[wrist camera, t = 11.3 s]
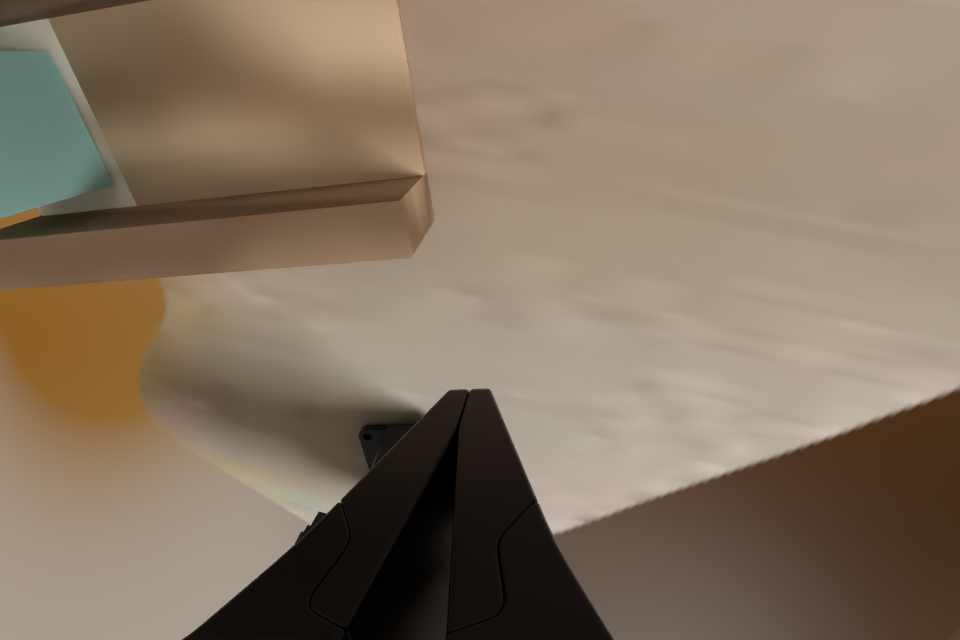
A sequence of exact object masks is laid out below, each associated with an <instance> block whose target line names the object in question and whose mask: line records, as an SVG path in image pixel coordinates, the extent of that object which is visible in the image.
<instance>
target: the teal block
mask: <svg viewBox="0 0 960 640" xmlns="http://www.w3.org/2000/svg"><path fill="white" fill-rule="evenodd" d="M111 185H114V183H113V181H112V179H111V177H110V175H109V173H108V171H107V169H106V167H105V165H104V163H103V161H102V159H101V157H100V155H99V153H98V151H97V149H96V147H95V145H94V143H93V141H92V138H91V136H90V134H89V132H88V130H87V128H86V126H85V124H84V122H83V120H82V118H81V116H80V114H79V112H78V110H77V108H76V106H75V104H74V102H73V100H72V98H71V96H70V94H69V92H68V89H67V87H66V85H65V83H64V81H63V79H62V77H61V75H60V73H59V71H58V69H57V67H56V65H55V63H54V61H53V59H52V57H51V55H50V53H49V51H0V219H1V218H5V217H8V216H11V215H15V214H18V213H21V212H24V211H28V210H31V209H34V208H38V207H41V206H45V205H48V204H51V203H55V202H58V201H61V200H65V199H68V198H71V197H75V196H78V195H81V194H85V193H88V192H91V191H95V190H98V189H101V188H105V187H108V186H111Z"/></svg>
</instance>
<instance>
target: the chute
mask: <svg viewBox="0 0 960 640" xmlns="http://www.w3.org/2000/svg"><path fill="white" fill-rule="evenodd" d="M0 51H49V53H50V55H51V57H52V59H53V61H54V63H55V65H56V67H57V69H58V71H59V73H60V75H61V77H62V79H63V81H64V83H65V85H66V87H67V89H68V92H69V94H70V96H71V98H72V100H73V102H74V104H75V106H76V108H77V110H78V112H79V114H80V116H81V118H82V120H83V122H84V124H85V126H86V128H87V130H88V132H89V134H90V136H91V138H92V141H93V143H94V145H95V147H96V149H97V151H98V153H99V155H100V157H101V159H102V161H103V163H104V165H105V167H106V169H107V171H108V173H109V175H110V177H111V179H112V181H113V183H114V185H111V186H108V187H105V188H101V189H98V190H95V191H91V192H88V193H85V194H81V195H78V196H75V197H71V198H68V199H65V200H61V201H58V202H55V203H51V204H48V205H45V206H41V207H38V208H36V209H37V211H38V212H39V214H40V216H39V217H36V218H33V219H30V220H27V221H24V222H21V223H17V224H14V225H12V226H8V227H5V228H2V229H0V290H9V289H23V288H36V287H48V286H61V285H73V284H86V283H98V282H111V281H123V280H135V279H149V278H161V277H174V276H186V275H199V274H211V273H224V272H236V271H249V270H261V269H274V268H287V267H299V266H312V265H324V264H337V263H349V262H362V261H374V260H387V259H399V258H411V257H412V256H413V254H414V252H415V251H416V249H417V247H418V246H419V244H420V243H421V241H422V239H423V238H424V236H425V234H426V233H427V231H428V230H429V228H430V226H431V225H432V223H433V221H434V214H433V209H432V203H431V197H430V191H429V185H428V179H427V174H426V168H425V162H424V156H423V150H422V144H421V139H420V133H419V127H418V121H417V115H416V109H415V104H414V98H413V92H412V86H411V80H410V74H409V69H408V63H407V57H406V51H405V45H404V39H403V34H402V28H401V22H400V16H399V10H398V5H397V0H0Z"/></svg>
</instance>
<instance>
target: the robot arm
mask: <svg viewBox="0 0 960 640" xmlns="http://www.w3.org/2000/svg"><path fill="white" fill-rule="evenodd" d="M367 434H370V435H367ZM359 439H360V442H361V445H362V448H363V451H364V454H365V457H366V461H367V464H368V467H369V470H370V471H369V472H368V473H367V474H366V475H365V476H364V477H363V478H362V479H361V480H360V481H359V482H358V483H357V484H356V485H355V486H354V487H353V488H352V489H351V490H350V491H349V492H348V493H347V494H346V495H345V496H344V497H343V498H342V499H341V503H342V504H341V503H337V504H336V505H335V506H334V507H333V508H332V509H331V510H330V511H329V512H328V513H327V514H326V513H322V512H318V514H317V516H316V517H315V519H314V521H313V523H312V524H311V526H310V525H308V526H307V527H306V529H305V530H304V532H301V533H300V535H299V537H298V539H297V541H296V543H295V545H294V546H293V547H291V548H290V549H289V550H288V551H287V552H286V553H285V554H284V555H282V557H280V558H279V559H278V560H277V561H276V562H275V563H273V564H272V565H271V566H270V567H269V568H268V569H267V570H265V571H264V572H263V573H262V574H261V575H259V576H258V577H257V578H256V579H255V580H254V581H252V582H251V583H250V584H249V585H248V586H247V587H245V588H244V589H243V590H242V591H241V592H240V593H238V594H237V595H236V596H235V597H234V598H233V599H231V600H230V601H229V602H228V603H227V604H226V605H224V606H223V607H222V608H221V609H220V610H219V611H217V612H216V613H215V614H214V615H213V616H211V617H210V618H209V619H208V620H207V621H206V622H204V623H203V624H202V625H201V626H200V627H198V628H197V629H196V630H195V631H193V632H192V633H191V634H189V635H188V636H186V637H185V638H184V639H182V640H614V639H613V637H612V635H611V634H610V632H609V631H608V629H607V627H606V626H605V624H604V623H603V621H602V619H601V618H600V616H599V614H598V612H597V611H596V609H595V608H594V606H593V604H592V603H591V601H590V599H589V598H588V596H587V594H586V593H585V591H584V590H583V588H582V586H581V585H580V583H579V581H578V580H577V578H576V576H575V575H574V573H573V572H572V570H571V568H570V566H569V564H568V563H567V561H566V559H565V557H564V556H563V554H562V552H561V550H560V548H559V547H558V545H557V543H556V541H555V539H554V536H553V534H552V532H551V530H550V528H549V526H548V524H547V522H546V519H545V517H544V515H543V512H542V510H541V508H540V505H539V504H538V502H537V499H536V496H535V494H534V492H533V489H532V487H531V484H530V482H529V480H528V477H527V475H526V473H525V470H524V468H523V466H522V463H521V461H520V458H519V456H518V454H517V451H516V449H515V447H514V444H513V442H512V439H511V437H510V435H509V432H508V430H507V428H506V425H505V423H504V420H503V418H502V416H501V413H500V411H499V409H498V406H497V404H496V402H495V399H494V397H493V394H492V392H491V390H490V389H472V390H471V391H470V392H469V390H467V389H463V390H450V391H448V392H447V393H446V394H445V395H444V396H443V397H442V398H441V399H440V400H439V401H438V402H437V403H436V404H435V405H434V406H433V407H432V408H431V409H430V410H429V411H428V412H427V413H426V414H425V415H424V416H423V417H422V418H421V419H420V420H419V421H418V422H417V423H416V424H397V425H366V426H363V427H362V429H361V431H360V433H359Z"/></svg>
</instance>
